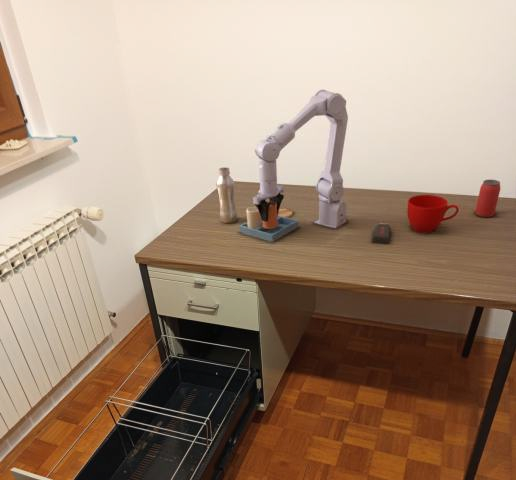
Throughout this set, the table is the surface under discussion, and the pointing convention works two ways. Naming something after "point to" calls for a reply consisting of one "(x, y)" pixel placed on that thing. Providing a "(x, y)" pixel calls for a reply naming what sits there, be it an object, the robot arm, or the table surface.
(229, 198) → the plastic bottle
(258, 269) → the table surface
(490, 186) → the beer can
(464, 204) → the table surface
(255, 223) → the cream tumbler
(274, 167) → the robot arm
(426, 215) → the ceramic cup
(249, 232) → the rack
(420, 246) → the table surface
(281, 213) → the coaster
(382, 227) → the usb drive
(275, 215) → the tumbler
